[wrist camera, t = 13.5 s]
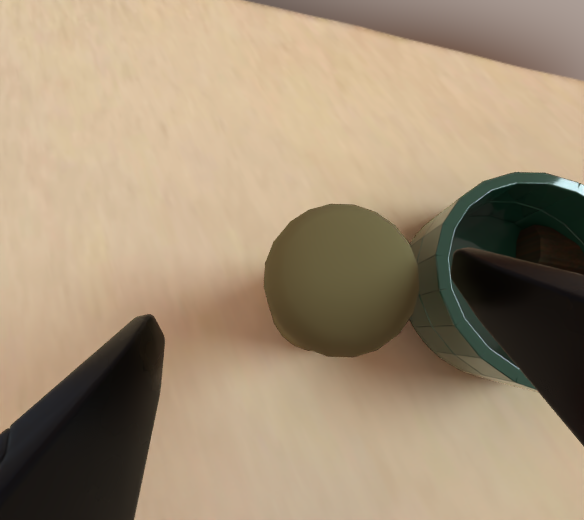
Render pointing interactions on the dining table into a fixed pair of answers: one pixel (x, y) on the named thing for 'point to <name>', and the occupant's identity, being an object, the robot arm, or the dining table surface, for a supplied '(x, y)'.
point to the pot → (493, 238)
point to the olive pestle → (341, 281)
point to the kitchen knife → (549, 249)
